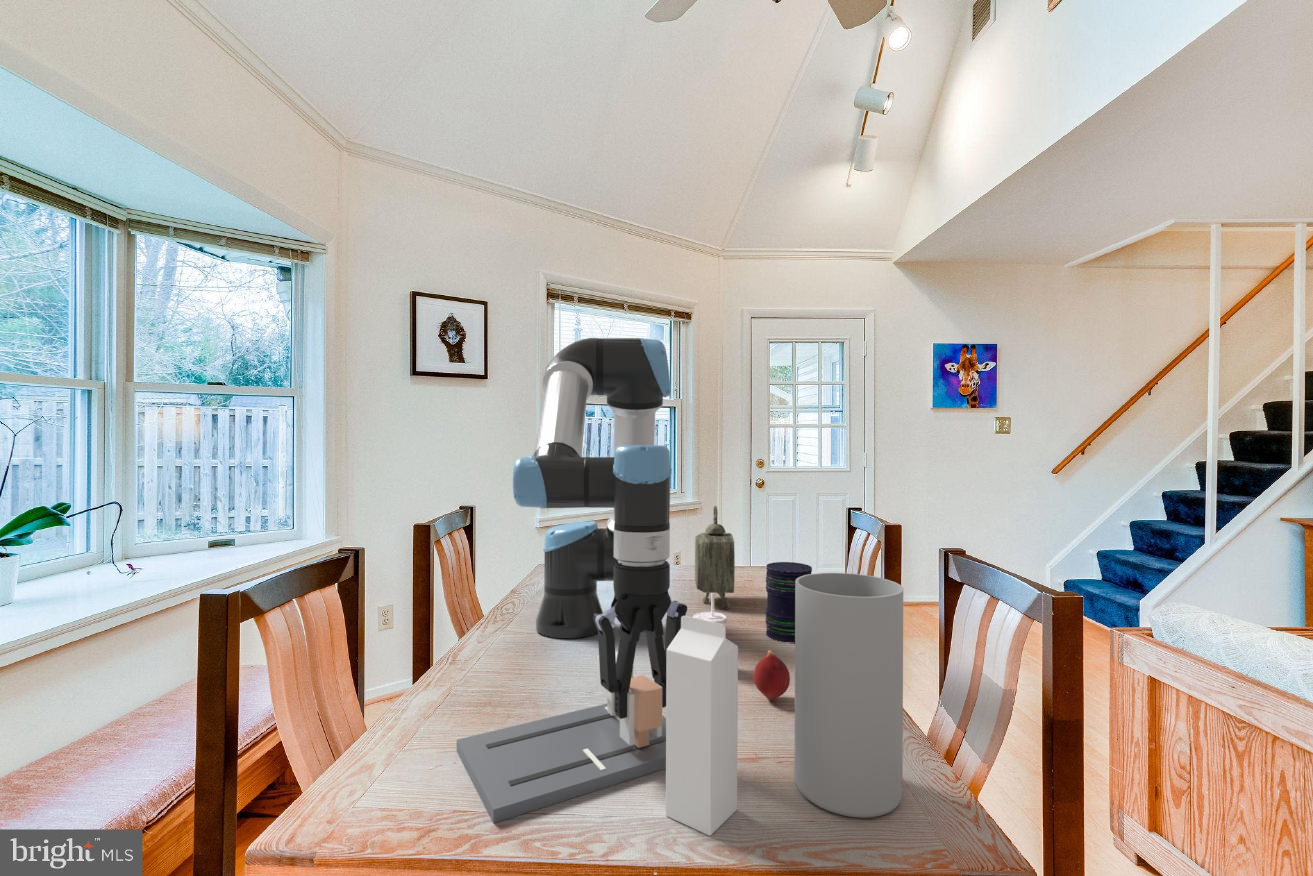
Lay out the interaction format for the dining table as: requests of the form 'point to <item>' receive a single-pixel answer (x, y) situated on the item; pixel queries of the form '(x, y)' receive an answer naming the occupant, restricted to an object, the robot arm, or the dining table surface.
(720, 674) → the milk
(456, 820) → the dining table surface
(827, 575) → the cylinder vase
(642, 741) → the fader
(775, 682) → the onion
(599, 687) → the block
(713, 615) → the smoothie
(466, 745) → the console
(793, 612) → the storage jar
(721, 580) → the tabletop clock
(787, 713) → the dining table surface
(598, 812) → the dining table surface
